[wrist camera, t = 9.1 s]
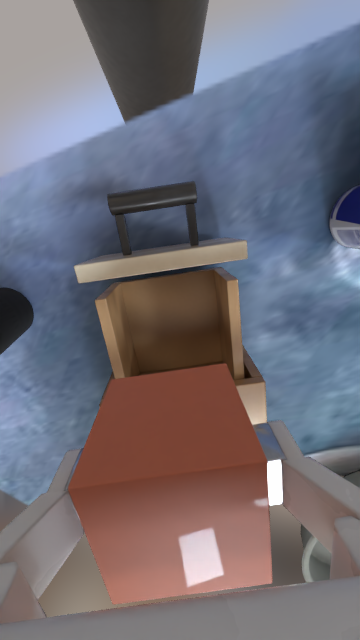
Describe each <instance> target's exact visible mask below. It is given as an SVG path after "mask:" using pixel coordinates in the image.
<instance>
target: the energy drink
mask: <svg viewBox="0 0 360 640" xmlns="http://www.w3.org/2000/svg"><path fill="white" fill-rule="evenodd" d="M330 230H331V233H332V235H333V238H334V239H335V240H336V241H337V242H338V243H339V244H341V245H343V246H345V247H349V248H358V249H360V185H358V186H355V187H353V188H351V189H349V190H348V191H346V192H345V193H344V194H343V195H342V196H341V197H340V198H339V199H338V201H337V202H336V203H335V205H334V207H333V209H332V212H331V216H330Z"/></svg>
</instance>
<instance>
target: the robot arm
mask: <svg viewBox="0 0 360 640" xmlns="http://www.w3.org/2000/svg"><path fill="white" fill-rule="evenodd" d="M253 428H254V430H255V432H256V435H257V437H258V440H259V442H260V444H261V447H262V449H263V451H264V454H265V456H266V458H267V465H268V489H269V505H279V504H283V506H284V507H285V508H286V509H287V510H288V511H289V512H290V513H291V514H292V515H293V516H294V517H295V518H296V519H297V520H298V521H299V522H300V523H301V524H302V525H303V526H304V527H305V528H306V529H307V530H308V531H309V532H310V533H311V534H312V535H313V536H314V537H315V538H316V539H317V540H318V541H319V542H320V543H321V544H322V545H323V546H324V547H325V548H326V549H327V550H328V551H329V552H330V553H331V554H332V556H331V568H330V580H323V581H316V582H308V583H301V584H293V585H286V586H279V587H271V588H264V589H256V590H249V591H241V592H233V593H226V594H218V595H211V596H203V597H196V598H188V599H181V600H174V601H166V602H159V603H151V604H144V605H137V606H129V607H121V608H114V609H106V610H99V611H92V612H85V613H77V614H70V615H61V616H54V617H46V614H45V612H44V611H43V609H42V607H41V605H40V603H39V602H38V599H39V597H40V596H41V595H42V593H43V592H44V590H45V589H46V587H47V586H48V584H49V583H50V582H51V580H52V579H53V577H54V576H55V575H56V573H57V572H58V570H59V569H60V567H61V566H62V565H63V563H64V562H65V560H66V559H67V557H68V556H69V554H70V553H71V552H72V550H73V549H74V547H75V546H76V544H77V543H78V542H79V540H80V539H81V537H82V536H83V534H84V529H83V527H82V524H81V521H80V519H79V516H78V514H77V511H76V509H75V506H74V503H73V501H72V498H71V496H70V493H69V491H68V486H69V484H70V481H71V479H72V476H73V474H74V471H75V469H76V466H77V464H78V461H79V459H80V456H81V454H82V451H83V449H84V448H82V449H72V450H68V451H67V452H66V453H65V455H64V457H63V460H62V462H61V464H60V466H59V468H58V470H57V472H56V474H55V476H54V478H53V480H52V483H51V485H50V487H49V489H48V491H47V493H44V494H41V495H40V496H39V497H38V498H37V499H36V500H35V501H34V502H32V503H31V504H30V505H29V506H28V507H27V508H26V509H25V510H24V511H23V512H22V513H20V514H19V515H18V516H17V517H16V518H15V519H14V520H13V521H12V522H11V523H10V524H8V525H7V526H6V527H5V528H4V529H3V530H2V531H1V532H0V640H360V488H359V487H357V486H355V485H354V484H352V483H351V482H349V481H347V480H346V479H344V478H343V477H341V476H339V475H338V474H336V473H335V472H333V471H331V470H330V469H328V468H327V467H325V466H323V465H322V464H320V463H319V462H317V461H315V460H314V459H312V458H311V457H304V455H303V454H302V452H301V450H300V449H299V447H298V445H297V444H296V442H295V440H294V439H293V437H292V435H291V434H290V432H289V430H288V429H287V427H286V425H285V424H284V422H283V421H281V420H278V421H271V422H267V423H259V424H253Z"/></svg>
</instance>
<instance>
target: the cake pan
mask: <svg viewBox="0 0 360 640" xmlns="http://www.w3.org/2000/svg"><path fill="white" fill-rule="evenodd" d="M343 478H344V479H346V480H347V481H349V482H351V483H352V484H354V485H355V486H357V487H359V488H360V471H357V472H354V473H352V474H349V475H347V476H345V477H343ZM301 537H302V542H303V547H304V553H303V557H302V572H303V576H304V578H305V580H306V582H307V583H308V582H316V581H323V580H330V568H331V556H332V554H331V553H330V552H329V551H328V550H327V549H326V548H325V547H324V546H323V545H322V544H321V543H320V542H319V541H318V540H317V539H316V538H315V537H314V536H313V535H312V534H311V533H310V532H309V531H308V530H307V529H306V528H305V527H304V526H303V525H302V524H301Z"/></svg>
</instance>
